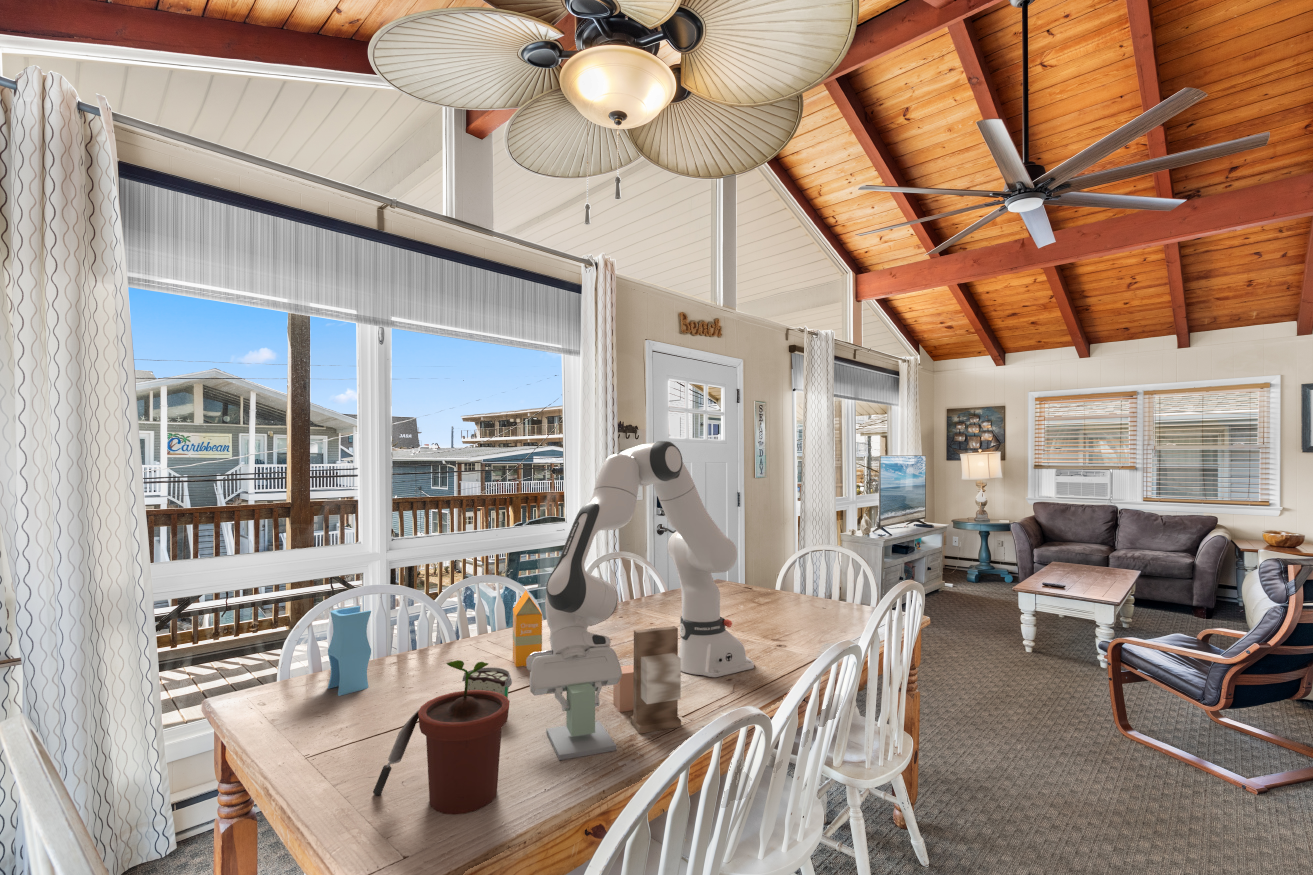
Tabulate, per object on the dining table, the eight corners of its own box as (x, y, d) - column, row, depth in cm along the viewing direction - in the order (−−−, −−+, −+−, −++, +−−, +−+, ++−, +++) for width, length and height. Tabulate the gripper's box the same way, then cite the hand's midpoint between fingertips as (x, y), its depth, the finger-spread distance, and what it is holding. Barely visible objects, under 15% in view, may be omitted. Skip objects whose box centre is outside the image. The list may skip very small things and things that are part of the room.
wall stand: (670, 715, 146) (671, 623, 147) (684, 730, 139) (684, 632, 139) (630, 722, 143) (630, 627, 143) (642, 737, 135) (642, 637, 136)
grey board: (599, 724, 142) (599, 720, 142) (616, 750, 130) (616, 745, 130) (546, 732, 137) (546, 728, 137) (559, 760, 125) (559, 755, 125)
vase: (370, 687, 163) (371, 610, 164) (338, 695, 158) (340, 616, 158) (358, 679, 169) (359, 605, 169) (327, 687, 163) (328, 610, 163)
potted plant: (445, 838, 100) (447, 680, 100) (371, 794, 112) (373, 654, 113) (528, 789, 114) (529, 652, 115) (454, 755, 127) (455, 632, 127)
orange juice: (538, 654, 190) (538, 588, 191) (542, 664, 182) (542, 595, 182) (511, 657, 188) (512, 590, 188) (514, 666, 179) (515, 597, 180)
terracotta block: (632, 701, 155) (632, 664, 155) (639, 708, 150) (639, 671, 151) (613, 704, 153) (613, 667, 154) (619, 711, 149) (619, 673, 149)
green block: (588, 723, 137) (589, 681, 137) (595, 732, 132) (595, 689, 132) (566, 726, 135) (566, 684, 135) (571, 736, 130) (572, 692, 130)
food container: (521, 712, 148) (522, 670, 148) (507, 723, 142) (507, 678, 142) (477, 705, 152) (478, 664, 152) (461, 715, 146) (462, 672, 146)
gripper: (526, 645, 137) (534, 708, 127) (616, 636, 144) (629, 694, 135) (523, 660, 141) (530, 721, 131) (610, 649, 148) (623, 707, 139)
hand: (581, 707), depth 133 cm, fingers closed on green block, 5 cm apart
